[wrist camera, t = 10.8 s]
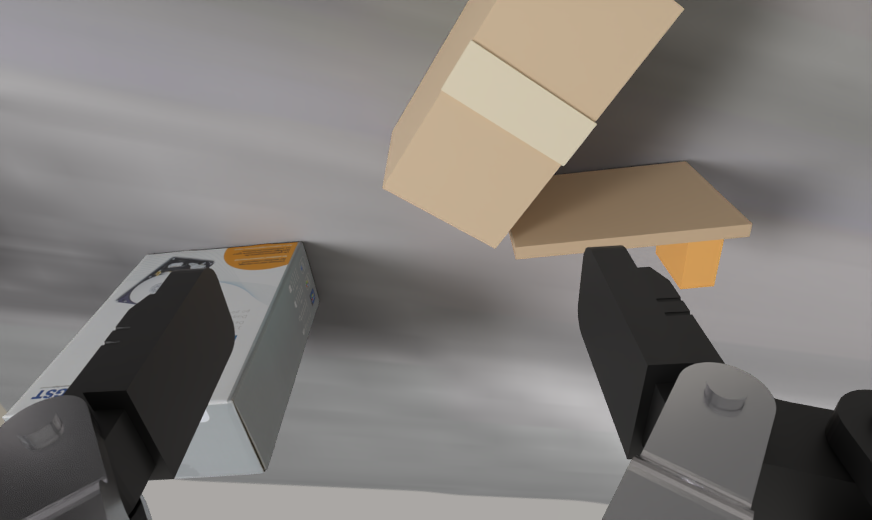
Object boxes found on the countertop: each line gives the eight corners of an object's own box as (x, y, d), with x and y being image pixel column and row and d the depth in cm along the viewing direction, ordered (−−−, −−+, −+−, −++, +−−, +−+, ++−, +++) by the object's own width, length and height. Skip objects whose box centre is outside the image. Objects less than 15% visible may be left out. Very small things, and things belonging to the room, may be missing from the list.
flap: (498, 181, 46) (515, 247, 36) (685, 161, 45) (752, 223, 36) (500, 230, 48) (517, 304, 39) (677, 213, 48) (737, 283, 38)
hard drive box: (303, 237, 49) (238, 401, 32) (321, 302, 53) (271, 477, 37) (142, 252, 50) (-4, 420, 33) (172, 315, 54) (56, 493, 37)
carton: (391, 130, 44) (380, 188, 34) (520, -92, 35) (554, -97, 26) (483, 183, 46) (496, 250, 37) (623, -12, 38) (687, 10, 29)
